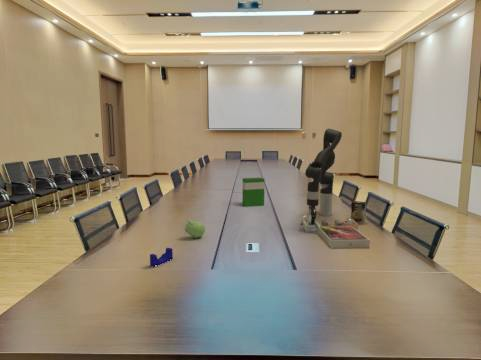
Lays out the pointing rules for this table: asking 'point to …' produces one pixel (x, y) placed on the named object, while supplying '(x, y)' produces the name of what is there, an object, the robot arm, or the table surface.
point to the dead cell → (349, 220)
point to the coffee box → (358, 212)
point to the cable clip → (163, 258)
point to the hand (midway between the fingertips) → (311, 223)
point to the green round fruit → (195, 229)
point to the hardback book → (253, 192)
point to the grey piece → (325, 223)
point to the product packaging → (343, 237)
